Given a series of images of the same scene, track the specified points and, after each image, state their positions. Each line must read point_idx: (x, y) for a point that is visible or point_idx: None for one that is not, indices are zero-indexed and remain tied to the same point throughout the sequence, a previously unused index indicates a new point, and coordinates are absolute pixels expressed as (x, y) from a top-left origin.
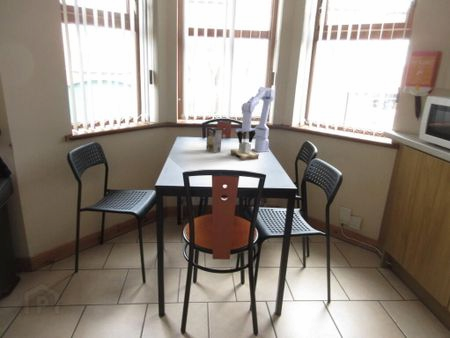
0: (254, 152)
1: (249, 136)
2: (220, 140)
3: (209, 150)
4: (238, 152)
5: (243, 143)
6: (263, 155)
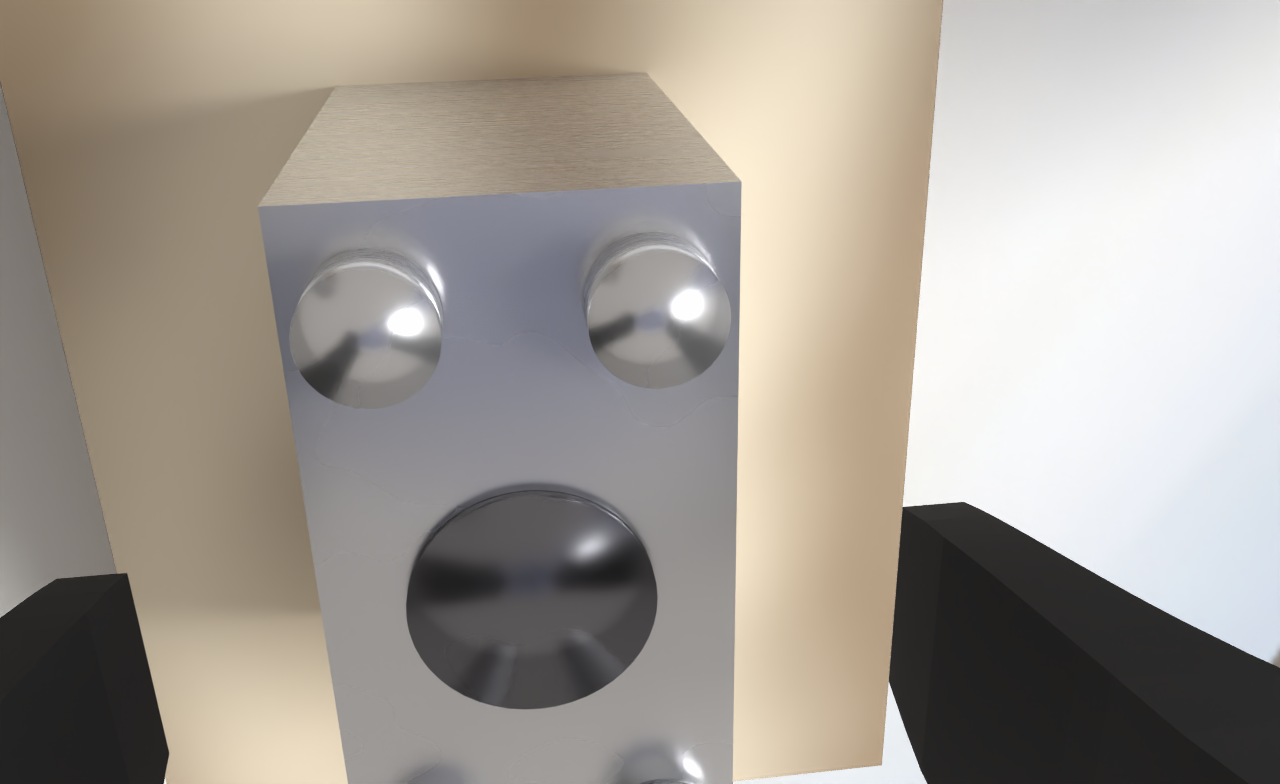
0: (897, 519)
1: (1118, 745)
2: None
3: None
4: (181, 390)
5: (367, 670)
6: (1277, 352)
